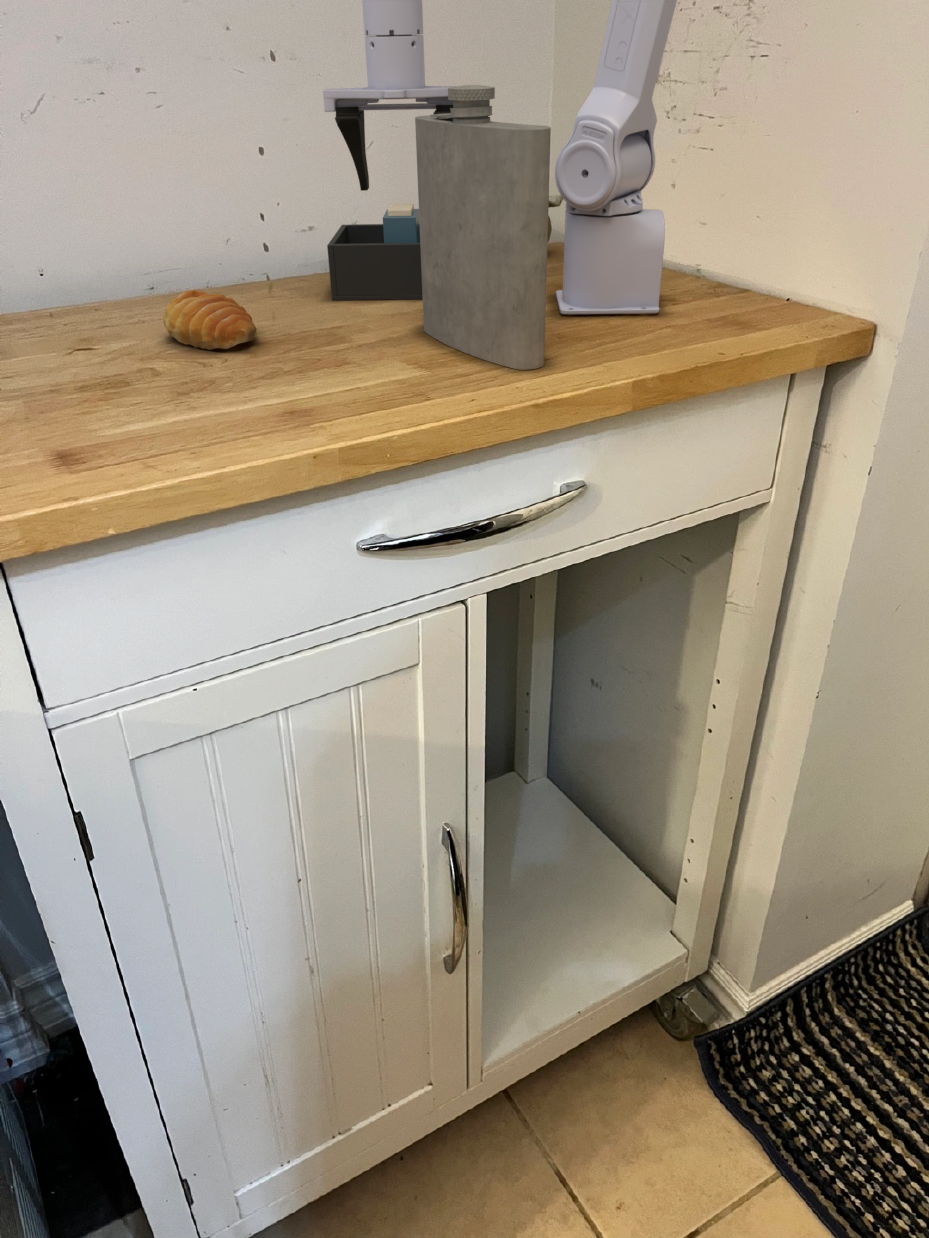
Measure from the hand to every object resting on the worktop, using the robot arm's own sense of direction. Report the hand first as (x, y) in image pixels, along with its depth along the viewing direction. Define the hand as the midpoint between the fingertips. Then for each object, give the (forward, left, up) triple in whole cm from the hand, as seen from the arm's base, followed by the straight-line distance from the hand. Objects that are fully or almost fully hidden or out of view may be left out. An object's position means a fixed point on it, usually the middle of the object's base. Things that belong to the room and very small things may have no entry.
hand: (401, 188), depth 98 cm
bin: (0, +2, -9) cm, 10 cm away
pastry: (+16, +21, -10) cm, 28 cm away
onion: (-13, -13, -10) cm, 21 cm away
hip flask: (-8, +25, -10) cm, 28 cm away
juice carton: (0, +2, -9) cm, 9 cm away
